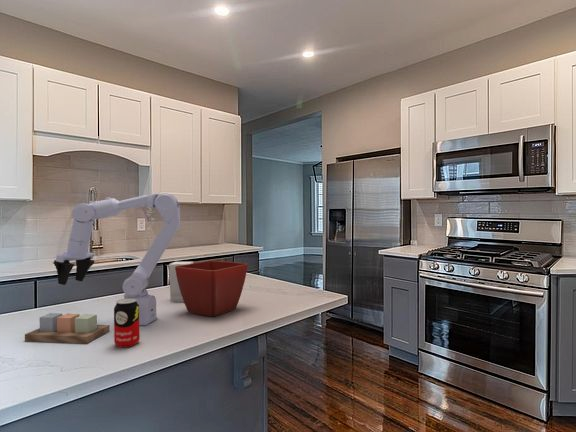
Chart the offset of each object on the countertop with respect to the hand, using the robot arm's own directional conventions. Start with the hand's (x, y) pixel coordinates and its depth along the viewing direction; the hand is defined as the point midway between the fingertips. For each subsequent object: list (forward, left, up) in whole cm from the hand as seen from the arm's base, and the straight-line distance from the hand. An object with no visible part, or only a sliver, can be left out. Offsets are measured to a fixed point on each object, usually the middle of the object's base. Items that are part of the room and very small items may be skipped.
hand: (70, 282), depth 114 cm
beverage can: (-27, +13, -14) cm, 33 cm away
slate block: (-1, +9, -12) cm, 15 cm away
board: (-6, +9, -14) cm, 18 cm away
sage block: (-12, +9, -12) cm, 19 cm away
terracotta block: (-6, +9, -12) cm, 16 cm away
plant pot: (-40, -21, -14) cm, 47 cm away
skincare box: (-23, -34, -14) cm, 43 cm away
